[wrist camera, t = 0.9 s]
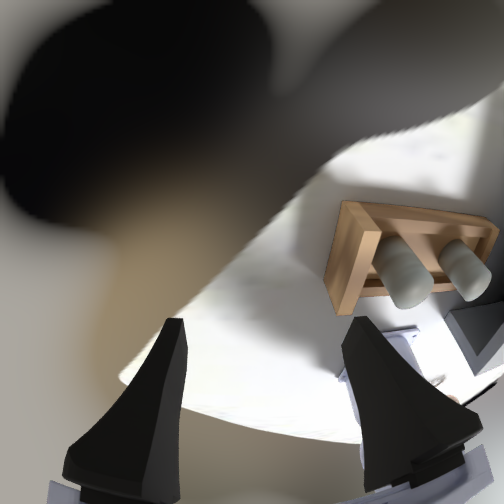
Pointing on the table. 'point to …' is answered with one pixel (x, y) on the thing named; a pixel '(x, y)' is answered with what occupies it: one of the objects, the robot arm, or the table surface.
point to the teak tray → (395, 222)
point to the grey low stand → (479, 335)
